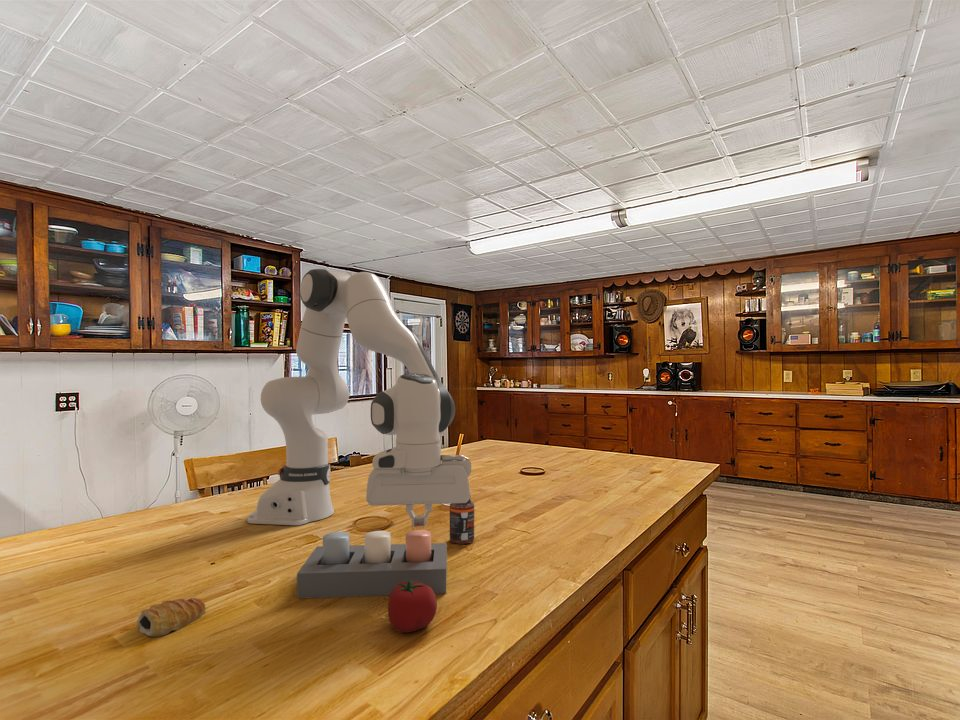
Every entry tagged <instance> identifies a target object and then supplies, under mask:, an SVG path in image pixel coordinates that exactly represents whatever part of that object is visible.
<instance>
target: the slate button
mask: <svg viewBox="0 0 960 720" xmlns="http://www.w3.org/2000/svg"><path fill="white" fill-rule="evenodd" d="M322 546H323V565H335V564H349V562H350V556H349V546H350V533H348V532H345V531H334V532H329V533H327V534H324V535H323V536H322Z"/></svg>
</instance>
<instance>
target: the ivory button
mask: <svg viewBox="0 0 960 720" xmlns="http://www.w3.org/2000/svg"><path fill="white" fill-rule="evenodd" d="M363 545H365V564H370V563H391V533H390V532H389V531H387V530H373V531H369V532H367V533H366V534H365V535H364V544H363Z"/></svg>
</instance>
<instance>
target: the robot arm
mask: <svg viewBox="0 0 960 720" xmlns="http://www.w3.org/2000/svg"><path fill="white" fill-rule="evenodd" d="M381 280H382V279H380V278H379V277H378V275H376V274H375V273H372V272H368V271H360V272H359V271H358V272H356V273H350V272H342V271H334V270H327V269H324V268H313V269H310V270H308V271H307V272H306V273H305V274H304V275H303V276H302V280H301V282H300V289H299V295H300V300H301V302H302V304H303V306H304V307H305V311H304V314H303V317H302V321H301V324H300V330H299V335H298V338H297V344H296V347H295V352H296V355H297V358H298V359H299V360H300V361H301V362H302V363H303V364H304V365H306V366H307V367H308V368H307V374H306V376H284V377H279V378H276V379H273V380H269V381H267V382H266V383H265V384H264V385H263V387H262V390H261V393H260V404H261V407H262V408H263V410H264V411H265V413H266V414H268V415H269V416H270V417H271V418H273V419H274V421H276V422H277V424H279V426H280V428H281V430H282V432H283V435H284V440H285V441H284V442H285V449H286V452H285V453H286V463H285V464H283V465H282V466H281V468H279V470H278V471H277V472H278V473H277V476H279V479H278V480H277V481H276V482H274V484H272V485H271V486H270V487H269V488H267V489H266V490H265V491H263V492H262V493H261V494H260V496H259V498H258V500H257V504H256V509H255V510H254V511H252V512H251V513H249V515H248V516H247V519H246V521H247V523H248V524H255V525H258V524H259V525H261V524H262V525H280V526H281V525H282V526H301V525H304V524H308V523H311V522H315V521H319V520H323V519H327V518H328V517H331V516H332V515H333V514H334V513H335V509H334V506H333V502H332V497H331V493H330V492H331V491H330V481H331V466H330V465H331V464H330V462H329V439H328V435H327V434H326V433H325V431H323V430H322V429H319V428H318V427H316V426H315V425H314V423H313V419H312V415H323V414H330V413H333V412H336V411H338V410H341V409H343V408H345V407H346V406H347V403H348V402H349V398H350V389H349V386H348V384H347V382H346V381H345V380H344V379H343V378H342V376H341V375H340V372H339V365H338V362H339V361H338V360H339V354H340V353H339V352H340V347H341V343H342V337H343V333H344V329H345V322H347V324H348V327H349V331H350V334H351V336H352V337H353V340H355V342H356V343H357V344H358V345H359V346H361V347H362V348H364V349H366V350H369V351H372V352H375V353H379V354H382V355H385V356H388V357H391V358H392V359H396V360H397V361H399V362H401V363H402V364H403V365H404V366H405V367H406V369H407V371H408V373H405V374H401V375H400V376H399V377H397V381H396V383H395V384H394V385H393V386H392V387H390V388H388V389H386V390H383V391H380V392H378V394H376V395H375V396H374V398H373V400H372V401H371V404H370V420H371V425H372V426H373V427H374V428H375V429H376V431H377V432H379V433H381V434H382V435H388V436H395V435H396V439H395V447H391V448H389V449H386V450H383V451H380V452H378V453H377V454H376V455H374V457H373V459H372V467H373V469H372V470H371V472H370V473H369V475H368V478H367V485H366V497H365V498H366V499H365V500H366V502H367V503H368V505H370V506H371V507H373V506H375V507H376V506H379V507H380V506H405V511H406V513H407V514H408V516H409V518H410V519H411V528H418V527H419V528H421V527H423V528H426V527H427V525H428V517H429V515H431V512H432V509H433V505H441V504H443V505H445V504H449V505H450V504H451V503H467V501H468V500H469V499H470V500H471V498H470V497H471V490H470V482H469V477H470V475H471V474H472V462H471V460H470V459H469V458H468V457H466V456H464V455H463V454H456V455H452V454H451V455H450V454H447V455H446V454H442V441H441V433H443V432H444V431H445V430H447V428H448V427H449V426H450V425H451V424H452V422H453V420H454V418H455V415H456V404H455V401H454V399H453V396H452V395H451V394H450V392H449V391H448V389H446V387H445V386H444V384H443V383H442V381H441V379H440V377H439V375H438V374H437V372H436V370H435V368H434V366H433V364H432V362H431V360H430V358H429V356H428V354H427V353H426V351H425V348H424V347H423V345H422V343H421V341H420V339H419V337H418V336H417V335H416V334H415V333H414V332H413V331H412V330H411V329H409V328H408V327H407V326H406V325H405V324H404V323H403V322H402V321H401V320H400V318H399V317H398V315H397V313H396V311H395V309H394V306H393V302H392V301H391V298H390V295H389V293H388V292H387V291H388V290H387V289H386V287H385V285H384V283H383V282H382V281H381ZM346 320H347V321H346ZM414 505H424V510H425V511H424V514H423V515H416V514H415V511H414V510H413V509H414Z"/></svg>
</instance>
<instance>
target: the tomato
mask: <svg viewBox="0 0 960 720" xmlns="http://www.w3.org/2000/svg"><path fill="white" fill-rule="evenodd" d="M388 596H389V598H388V604H387V616H388V620H389V624H391V626H392V627H393V629H395V631H398V632H400V633H402V634H404V633H413V632H415V631H419V630H421V629H423V628H425V627H426V628H427V627H428V626H429V625H430V624H431V622H432V621H433V619H434V618H435V616H436V615H437V614H436V613H437V609H438V603H437V597H436V594H435V593H434V592H433V590H432V588H431V587H429V586H427V585H425V584H423V583H419V582H416V581H407V582H403V583H399V584H398V585H397V586H396V587H395V588H394V589H393V590H392V592H391V594H390V595H388Z"/></svg>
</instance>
